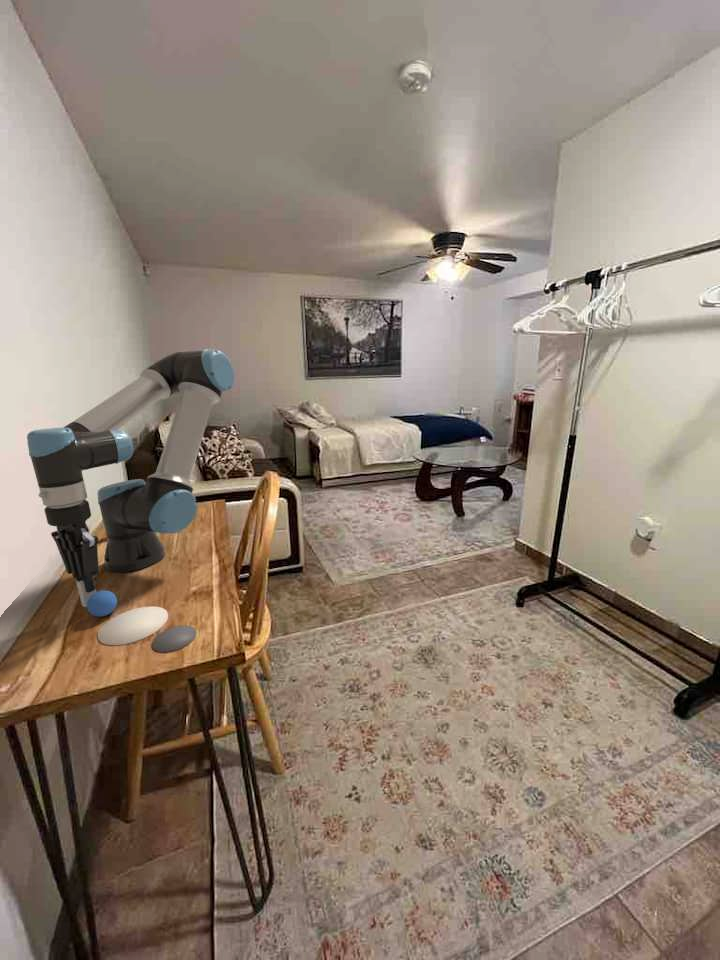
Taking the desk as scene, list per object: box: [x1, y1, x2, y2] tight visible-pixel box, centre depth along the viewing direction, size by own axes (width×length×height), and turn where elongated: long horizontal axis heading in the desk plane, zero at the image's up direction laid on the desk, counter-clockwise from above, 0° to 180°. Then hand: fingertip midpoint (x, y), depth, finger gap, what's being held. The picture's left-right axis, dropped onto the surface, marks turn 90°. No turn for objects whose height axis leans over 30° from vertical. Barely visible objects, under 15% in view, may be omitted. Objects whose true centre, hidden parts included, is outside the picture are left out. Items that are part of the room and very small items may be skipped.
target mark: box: [97, 606, 169, 646], centre depth 82 cm, size 13×13×1 cm
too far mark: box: [151, 624, 197, 653], centre depth 77 cm, size 8×8×1 cm
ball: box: [86, 589, 118, 618], centre depth 86 cm, size 6×6×6 cm
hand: (90, 603), depth 88 cm, fingers closed
